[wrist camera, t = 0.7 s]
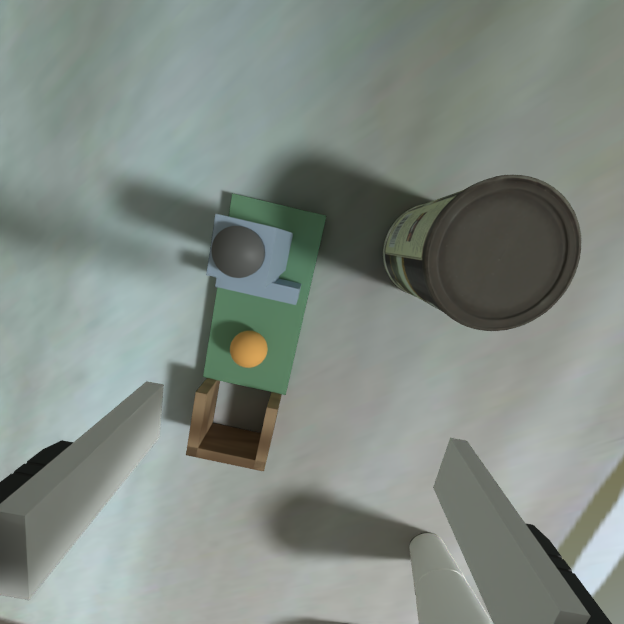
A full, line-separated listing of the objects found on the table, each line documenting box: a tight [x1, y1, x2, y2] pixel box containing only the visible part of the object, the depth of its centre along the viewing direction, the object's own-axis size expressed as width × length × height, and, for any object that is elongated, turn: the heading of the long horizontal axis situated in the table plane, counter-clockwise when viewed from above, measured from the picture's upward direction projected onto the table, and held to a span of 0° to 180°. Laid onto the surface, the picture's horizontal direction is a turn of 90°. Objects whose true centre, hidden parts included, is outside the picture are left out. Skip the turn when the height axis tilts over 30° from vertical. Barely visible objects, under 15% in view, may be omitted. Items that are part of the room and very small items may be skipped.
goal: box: [186, 378, 282, 471], centre depth 37 cm, size 8×9×5 cm
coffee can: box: [383, 175, 581, 331], centre depth 27 cm, size 10×10×14 cm
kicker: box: [206, 214, 301, 305], centre depth 26 cm, size 7×8×14 cm
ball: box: [230, 331, 268, 368], centre depth 34 cm, size 4×4×4 cm
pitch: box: [203, 194, 326, 395], centre depth 35 cm, size 21×10×2 cm, turn 167°
